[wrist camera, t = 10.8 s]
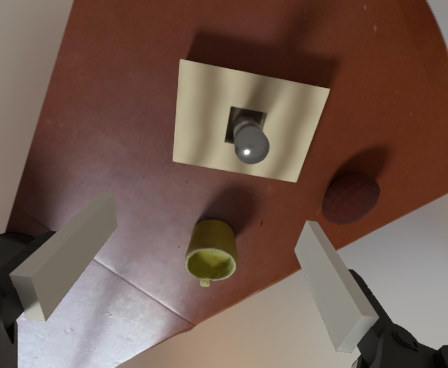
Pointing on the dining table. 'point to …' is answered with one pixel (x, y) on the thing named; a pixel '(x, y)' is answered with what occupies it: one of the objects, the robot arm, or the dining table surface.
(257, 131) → the pin
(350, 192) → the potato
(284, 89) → the block
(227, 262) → the mug
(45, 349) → the dining table surface
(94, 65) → the dining table surface
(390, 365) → the robot arm
